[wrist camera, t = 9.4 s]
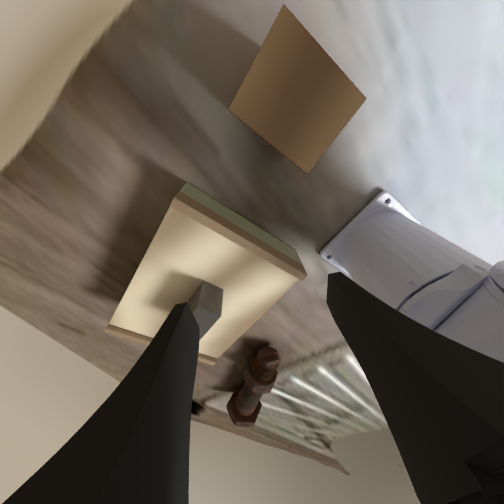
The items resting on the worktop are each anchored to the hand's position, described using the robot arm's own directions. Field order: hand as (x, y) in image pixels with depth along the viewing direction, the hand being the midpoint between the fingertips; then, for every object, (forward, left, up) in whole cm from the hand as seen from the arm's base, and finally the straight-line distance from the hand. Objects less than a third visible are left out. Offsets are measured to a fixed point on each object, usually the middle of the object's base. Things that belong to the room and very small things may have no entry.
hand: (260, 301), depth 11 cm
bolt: (-15, +21, -10) cm, 28 cm away
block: (+3, -8, -10) cm, 13 cm away
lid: (0, +8, -7) cm, 11 cm away
